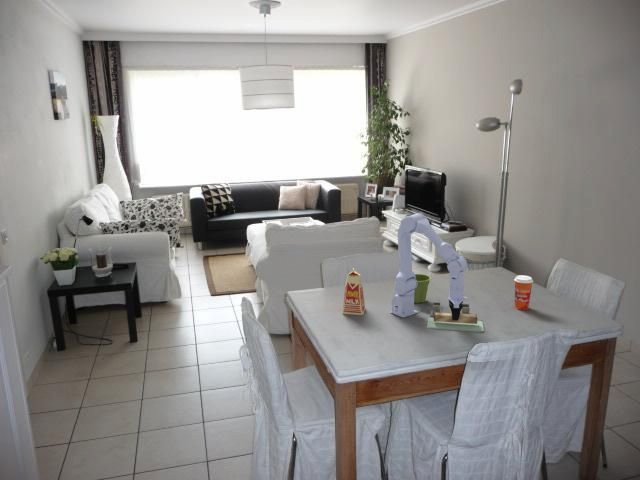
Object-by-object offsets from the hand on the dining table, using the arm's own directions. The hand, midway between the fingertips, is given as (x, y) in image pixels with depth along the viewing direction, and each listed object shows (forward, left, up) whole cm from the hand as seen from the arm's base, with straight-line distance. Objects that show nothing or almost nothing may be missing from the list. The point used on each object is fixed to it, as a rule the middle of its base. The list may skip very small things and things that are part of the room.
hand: (455, 318), depth 216 cm
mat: (0, 0, -3) cm, 3 cm away
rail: (0, 0, -1) cm, 1 cm away
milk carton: (-21, +39, -3) cm, 44 cm away
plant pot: (+10, +30, -3) cm, 32 cm away
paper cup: (+38, -6, -3) cm, 39 cm away
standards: (+7, +8, -3) cm, 11 cm away
